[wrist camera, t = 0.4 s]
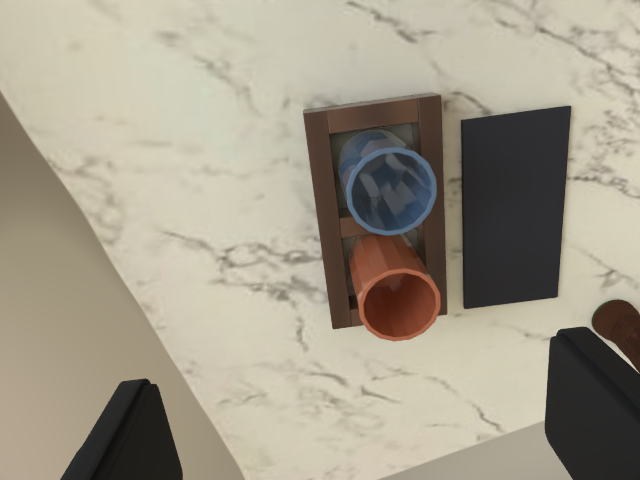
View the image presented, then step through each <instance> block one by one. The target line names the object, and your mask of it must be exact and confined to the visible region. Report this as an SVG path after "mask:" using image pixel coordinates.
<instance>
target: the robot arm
mask: <svg viewBox="0 0 640 480" xmlns="http://www.w3.org/2000/svg"><path fill="white" fill-rule="evenodd" d="M545 433H546V437H547V439H548V442H549V444H550V445H551V447H552V448H553V450H554V451H555V453H556V454H557V456H558V457H559V459H560V460H561V462H562V463H563V465H564V466H565V468H566V470H567V471H568V473H569V474H570V476H571V477H572V479H573V480H640V374H639V373H638V372H637V371H636V370H635V369H634V368H632V367H631V366H630V365H629V364H628V363H627V362H626V361H625V360H624V359H622V358H621V357H620V356H619V355H618V354H617V353H616V352H615V351H613V350H612V349H611V348H610V347H609V346H608V345H607V344H606V343H605V342H603V341H602V340H601V339H600V338H599V337H598V336H597V335H596V334H595V333H593V332H592V331H591V330H590V329H589V328H587V327H576V328H567V329H560V330H559V331H558V332H557V335H556V336H553V337H552V338H551V339H550V348H549V365H548V381H547V397H546V413H545ZM60 480H183V474H182V468H181V464H180V461H179V457H178V454H177V450H176V447H175V443H174V440H173V437H172V433H171V430H170V426H169V423H168V419H167V416H166V413H165V409H164V405H163V402H162V398H161V395H160V392H159V388H158V386H157V385H156V384H151V383H150V381H149V380H148V379H138V380H130V381H123V382H121V383H120V384H119V386H118V387H117V389H116V391H115V392H114V394H113V396H112V397H111V399H110V401H109V402H108V404H107V406H106V407H105V409H104V411H103V412H102V414H101V416H100V417H99V419H98V421H97V422H96V424H95V426H94V427H93V429H92V431H91V433H90V434H89V436H88V437H87V439H86V441H85V442H84V444H83V446H82V447H81V448H80V449H79V450H78V452H77V453H76V455H75V456H74V458H73V460H72V461H71V463H70V465H69V466H68V468H67V469H66V471H65V473H64V474H63V476H62V478H61V479H60Z"/></svg>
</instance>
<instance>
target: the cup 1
mask: <svg viewBox="0 0 640 480" xmlns="http://www.w3.org/2000/svg"><path fill="white" fill-rule="evenodd" d="M337 165H338V174H339V180H340V183H341V186H342V189H343V193H344V196H345V199H346V202H347V206H348V208H349V210H350V212H351V214H352V215H353V217H354V219H355V221H356V222H357V223H358V224H360V225H361V226H363V227H364V228H365V229H367V230H368V231H370V232H373V233H377V234H381V235H385V236H388V235H396V234H403V233H405V232H407V231H409V230H411V229H413V228H415V227H417V226H418V225H420V223H421V222H422V221H423V220H424V219H425V218H426V217H427V216H428V214H429V213H430V212H431V210H432V207H433V204H434V202H435V199H436V196H437V187H436V177H435V175H434V173H433V171H432V169H431V167H430V165H429V163H428V162H427V161H426V160H425V159H423V158H422V157H421V156H420V155H419V154H417V153H416V152H415V151H414V150H413V149H411V148H410V147H409V146H408V145H406V144H405V143H404V142H403V141H401V140H400V139H399V138H398V137H397V136H395V135H394V134H393V133H391V132H388V131H385V130H381V129H368V130H364V131H361V132H359V133H357V134H355V135H354V136H352V137H351V138H350V139H349V140H348V141H347V142H346V143H345V145H344V146H343V148H342V150H341V152H340V154H339V158H338V164H337Z"/></svg>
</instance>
